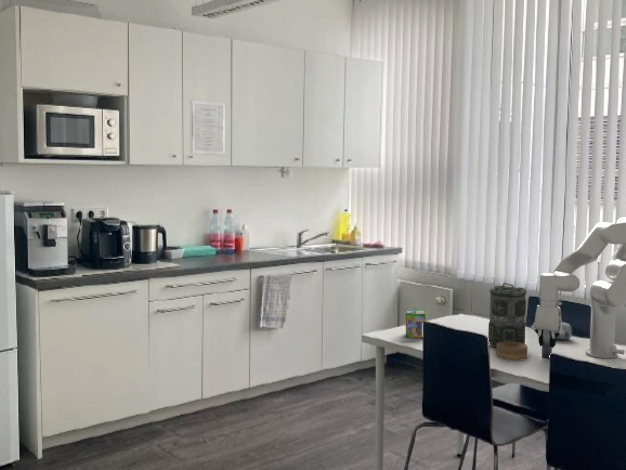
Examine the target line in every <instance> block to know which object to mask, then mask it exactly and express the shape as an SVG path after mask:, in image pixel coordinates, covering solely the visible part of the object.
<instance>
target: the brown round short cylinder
mask: <svg viewBox="0 0 626 470" xmlns="http://www.w3.org/2000/svg"><path fill="white" fill-rule="evenodd" d="M496 357H497V358H499V359H502V360H506V361H507V360H508V361H523V360H526V359H527V358H528V345H527V343H525V344H524V343H520V342H514V341H504V342H499V343H497V347H496Z"/></svg>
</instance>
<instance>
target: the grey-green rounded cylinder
mask: <svg viewBox="0 0 626 470" xmlns="http://www.w3.org/2000/svg"><path fill="white" fill-rule="evenodd" d="M562 327H563V329H564V331H565V332H564V333H562V334H560V335H559V336H557V337H556V340H560V341H561V340H563V341H567V340H570V339H571V338H572V334H573V328H572V326H571V325H570V323H567V322H564V321H562ZM559 331H560V330H558V331H556V332H559Z"/></svg>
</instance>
